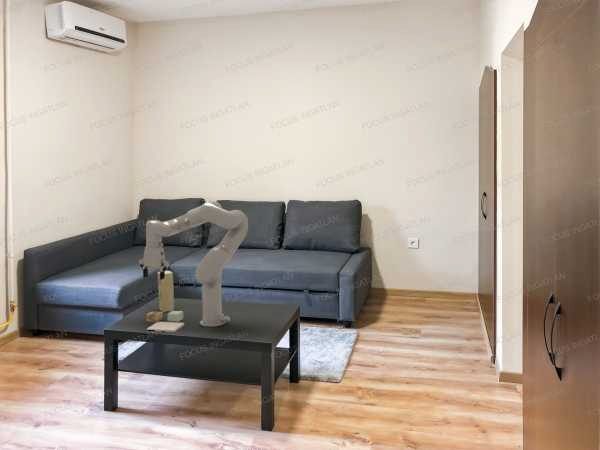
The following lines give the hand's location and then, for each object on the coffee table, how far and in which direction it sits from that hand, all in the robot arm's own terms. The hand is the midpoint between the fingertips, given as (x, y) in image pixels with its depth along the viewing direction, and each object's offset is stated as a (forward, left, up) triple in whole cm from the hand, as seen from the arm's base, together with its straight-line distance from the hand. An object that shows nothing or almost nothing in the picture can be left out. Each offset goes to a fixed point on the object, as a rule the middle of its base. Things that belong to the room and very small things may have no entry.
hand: (153, 278), depth 285 cm
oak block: (0, 0, -22) cm, 22 cm away
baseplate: (-11, +11, -22) cm, 27 cm away
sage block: (-10, -3, -22) cm, 25 cm away
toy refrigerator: (+3, -20, -22) cm, 30 cm away
